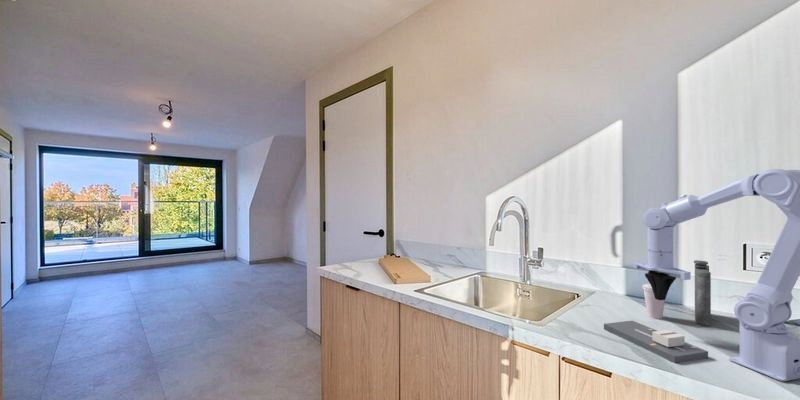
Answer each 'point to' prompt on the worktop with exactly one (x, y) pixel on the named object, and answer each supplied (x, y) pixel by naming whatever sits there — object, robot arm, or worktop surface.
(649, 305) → the smoothie
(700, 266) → the flask
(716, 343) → the worktop surface
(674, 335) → the fader knob
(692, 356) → the console
